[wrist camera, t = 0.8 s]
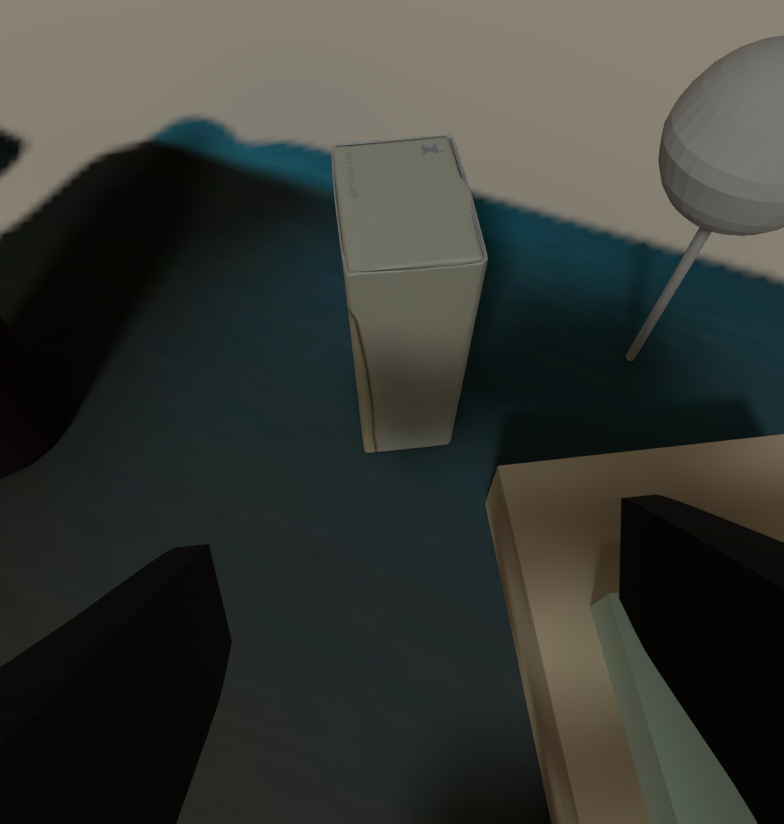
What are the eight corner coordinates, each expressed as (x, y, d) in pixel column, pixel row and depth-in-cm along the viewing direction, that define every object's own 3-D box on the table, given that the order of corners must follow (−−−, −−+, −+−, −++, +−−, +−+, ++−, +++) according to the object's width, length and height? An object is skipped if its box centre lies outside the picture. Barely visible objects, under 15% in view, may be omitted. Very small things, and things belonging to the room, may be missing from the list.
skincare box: (353, 352, 29) (325, 139, 19) (436, 344, 29) (453, 127, 19) (364, 459, 26) (337, 274, 16) (457, 448, 26) (491, 258, 16)
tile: (917, 937, 14) (987, 966, 13) (692, 970, 14) (732, 1003, 12) (761, 585, 19) (797, 570, 17) (590, 606, 19) (608, 593, 17)
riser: (1058, 1139, 15) (1251, 1258, 12) (631, 1208, 15) (700, 1353, 11) (744, 474, 25) (797, 432, 22) (485, 503, 25) (497, 465, 21)
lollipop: (623, 427, 27) (830, 135, 14) (546, 343, 29) (658, 33, 16) (716, 371, 28) (980, 61, 15) (634, 297, 31) (801, -22, 18)
